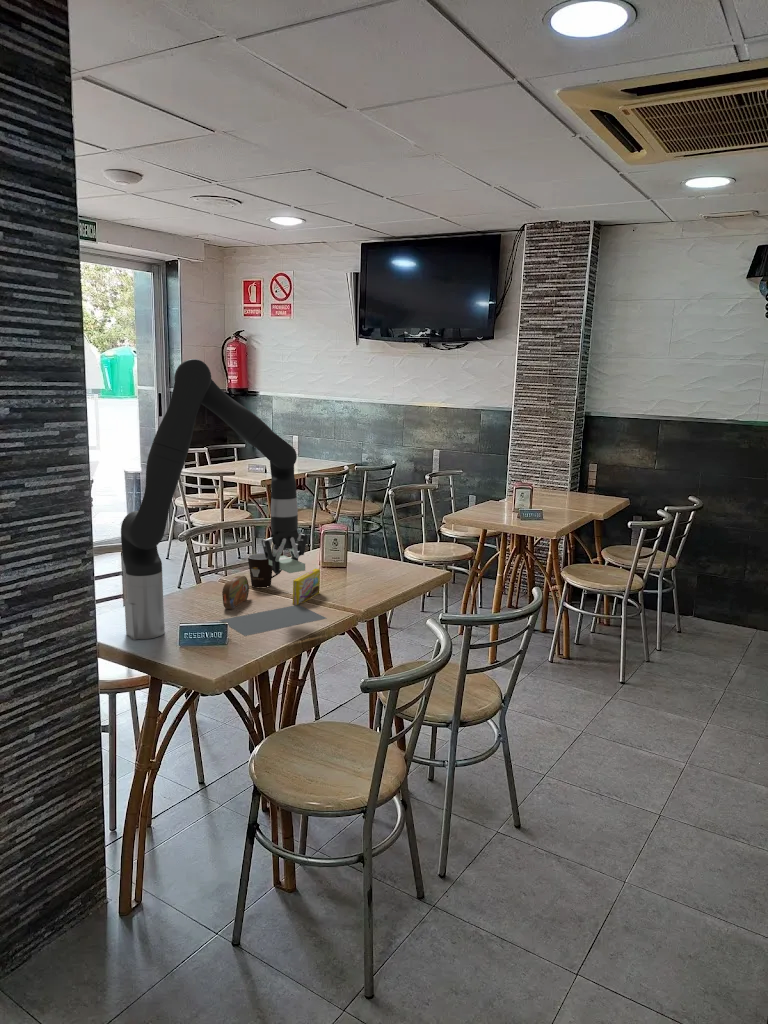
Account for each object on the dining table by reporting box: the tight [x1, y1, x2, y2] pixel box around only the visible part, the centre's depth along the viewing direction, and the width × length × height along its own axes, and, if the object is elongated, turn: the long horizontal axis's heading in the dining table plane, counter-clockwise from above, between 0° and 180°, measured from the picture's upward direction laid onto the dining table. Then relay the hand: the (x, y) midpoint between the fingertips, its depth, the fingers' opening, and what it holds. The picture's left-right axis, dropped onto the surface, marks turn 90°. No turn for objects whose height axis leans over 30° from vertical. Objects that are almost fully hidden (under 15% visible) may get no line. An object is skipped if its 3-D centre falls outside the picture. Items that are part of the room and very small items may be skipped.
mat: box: [218, 604, 328, 637], centre depth 208 cm, size 26×16×1 cm, turn 127°
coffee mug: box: [247, 553, 283, 588], centre depth 243 cm, size 12×9×10 cm
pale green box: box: [269, 555, 306, 574], centre depth 208 cm, size 5×2×12 cm
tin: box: [221, 575, 250, 610], centre depth 222 cm, size 15×3×8 cm, turn 168°
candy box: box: [292, 568, 321, 606], centre depth 229 cm, size 16×2×8 cm, turn 161°
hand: (285, 571), depth 209 cm, fingers closed on pale green box, 5 cm apart
